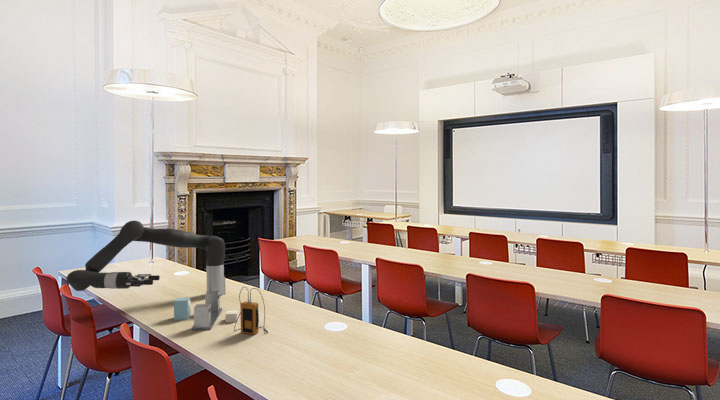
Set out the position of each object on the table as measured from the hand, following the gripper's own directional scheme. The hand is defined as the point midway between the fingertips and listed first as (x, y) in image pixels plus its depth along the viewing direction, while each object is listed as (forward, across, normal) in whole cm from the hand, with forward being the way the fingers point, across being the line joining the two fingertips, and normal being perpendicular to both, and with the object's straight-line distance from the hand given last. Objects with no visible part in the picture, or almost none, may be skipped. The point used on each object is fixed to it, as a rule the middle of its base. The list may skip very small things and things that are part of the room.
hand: (156, 280), depth 183 cm
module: (+12, 0, +18) cm, 22 cm away
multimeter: (+47, -20, +18) cm, 54 cm away
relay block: (+35, -6, +18) cm, 40 cm away
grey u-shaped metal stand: (+24, -4, +18) cm, 30 cm away
